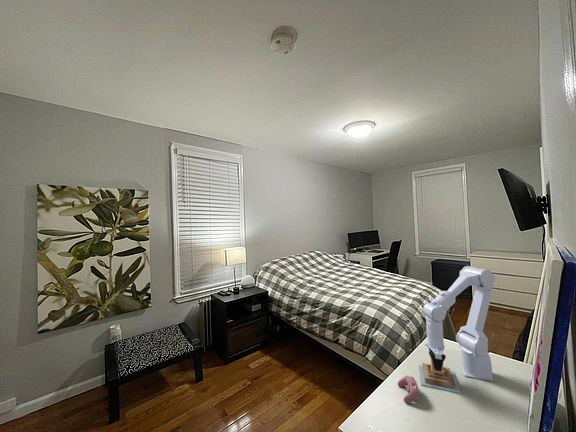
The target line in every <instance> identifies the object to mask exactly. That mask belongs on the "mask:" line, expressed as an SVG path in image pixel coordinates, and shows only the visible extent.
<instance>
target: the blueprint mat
mask: <svg viewBox="0 0 576 432" xmlns="http://www.w3.org/2000/svg"><path fill="white" fill-rule="evenodd" d="M418 371H419V378H420V385H421V386H423V387H427V388H432V389H435V390H442V391H446V392H450V393H455V394H459V395H460V394H462V392H461V389H460V386H459V383H458V380H457V378H456V375H455V372H454V371H452V370H450V371H451V374H452V377H453V380H454V383H455V389H453V388H448V387H443V386H438V385H433V384H429V383H425V379H424V373H423V365H422V364H421V365H420V364H418Z"/></svg>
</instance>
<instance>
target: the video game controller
mask: <svg viewBox="0 0 576 432" xmlns="http://www.w3.org/2000/svg"><path fill="white" fill-rule="evenodd" d="M397 386H398V387H399V388H403V387H406V391H407V392H408V393H407V394H406V395H405V396H404V397H403V402H404V403H405V404H411V403H413V402H415V401H416V400H417V399H419V397H420V396H421V393H420V388H419V386H418V383H417V381H416V379H415V377H413V376H412V375H408V374H406V375H405V376H403V377H402V378H401V379H400V380H398V381H397Z"/></svg>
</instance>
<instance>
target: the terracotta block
mask: <svg viewBox="0 0 576 432" xmlns="http://www.w3.org/2000/svg"><path fill="white" fill-rule="evenodd" d="M429 361H430V365H431V370H432V373H437V374H442V375H444V372H443V367H444V364H443V365H442V370H441V371H436V370H435V368H434V364H433V361H432V358H431V357H430V356H429Z"/></svg>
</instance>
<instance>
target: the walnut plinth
mask: <svg viewBox="0 0 576 432" xmlns="http://www.w3.org/2000/svg"><path fill="white" fill-rule="evenodd" d="M421 366H423V373H424V379H425V383H429V384H433V385H438V386H443V387H448V388H453V389H455V383H454V380H453V377H452V374H451V371H452V370H451V368H450V367H446V366H445V367H444V366H443V372H444V375H442V374H437V373H432V370H431V363H430V364H429V363H423V362H422V364H421Z"/></svg>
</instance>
